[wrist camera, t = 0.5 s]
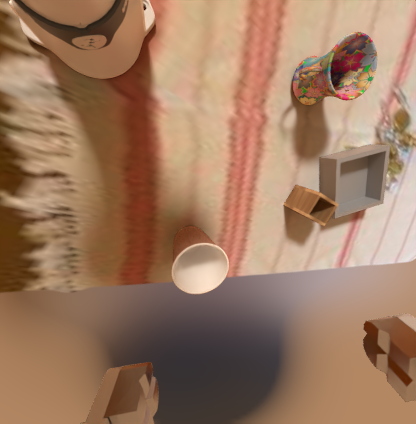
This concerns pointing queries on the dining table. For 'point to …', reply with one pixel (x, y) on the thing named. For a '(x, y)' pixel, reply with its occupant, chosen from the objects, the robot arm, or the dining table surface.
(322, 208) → the square wooden cup
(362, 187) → the grey crate
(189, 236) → the coffee cup
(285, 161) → the dining table surface
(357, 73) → the mug
